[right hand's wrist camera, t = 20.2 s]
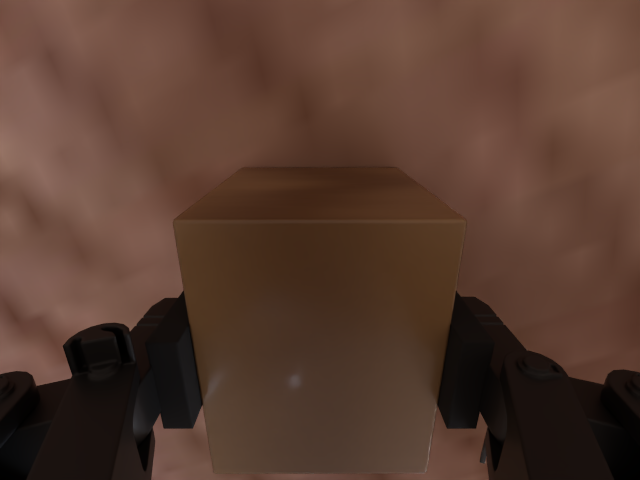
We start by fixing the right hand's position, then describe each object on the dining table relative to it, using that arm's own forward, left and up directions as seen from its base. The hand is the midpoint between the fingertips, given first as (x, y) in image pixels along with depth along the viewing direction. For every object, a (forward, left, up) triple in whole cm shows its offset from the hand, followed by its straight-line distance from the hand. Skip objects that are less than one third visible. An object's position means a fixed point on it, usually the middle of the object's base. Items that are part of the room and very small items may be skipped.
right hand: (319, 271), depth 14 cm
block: (0, 0, -1) cm, 1 cm away
